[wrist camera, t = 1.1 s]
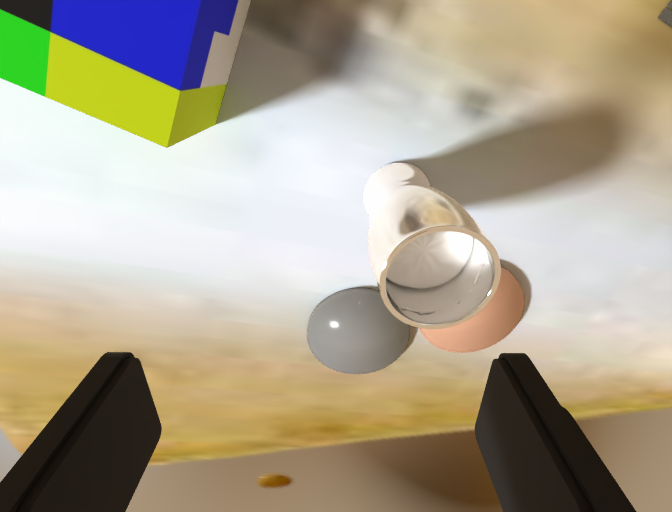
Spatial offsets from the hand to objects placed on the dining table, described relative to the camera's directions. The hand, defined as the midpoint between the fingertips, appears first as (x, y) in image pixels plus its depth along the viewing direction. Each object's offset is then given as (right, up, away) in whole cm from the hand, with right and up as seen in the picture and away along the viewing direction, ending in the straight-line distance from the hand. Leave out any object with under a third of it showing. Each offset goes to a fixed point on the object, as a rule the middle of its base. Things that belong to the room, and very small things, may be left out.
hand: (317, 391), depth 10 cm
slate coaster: (+3, -4, +30) cm, 31 cm away
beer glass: (+6, +9, +23) cm, 26 cm away
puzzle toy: (-12, +21, +17) cm, 29 cm away
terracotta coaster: (+15, -2, +29) cm, 32 cm away
